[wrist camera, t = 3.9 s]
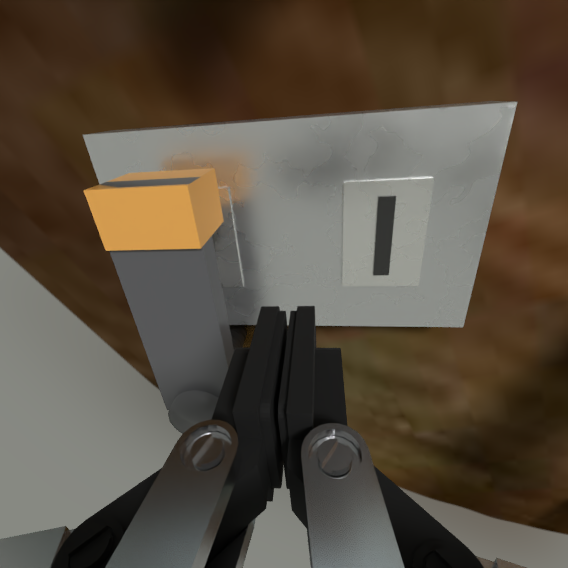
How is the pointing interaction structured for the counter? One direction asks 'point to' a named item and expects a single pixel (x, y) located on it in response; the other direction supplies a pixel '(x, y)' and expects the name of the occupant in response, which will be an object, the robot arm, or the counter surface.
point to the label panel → (339, 206)
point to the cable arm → (171, 280)
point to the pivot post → (238, 335)
